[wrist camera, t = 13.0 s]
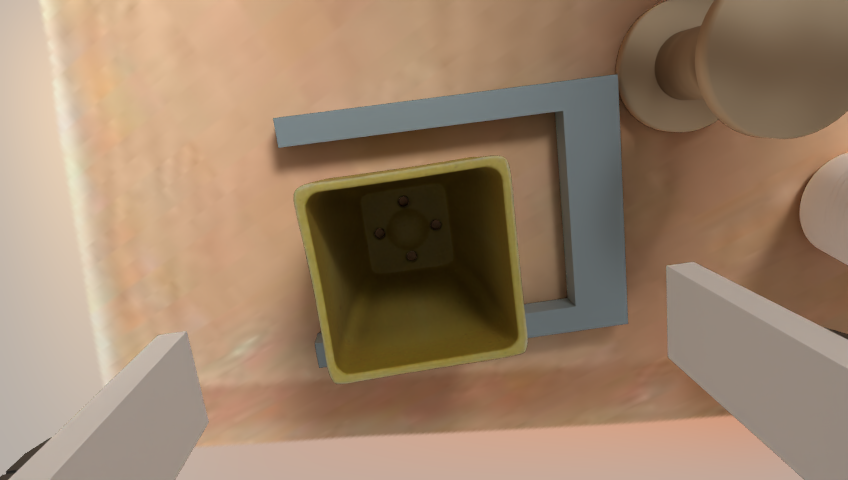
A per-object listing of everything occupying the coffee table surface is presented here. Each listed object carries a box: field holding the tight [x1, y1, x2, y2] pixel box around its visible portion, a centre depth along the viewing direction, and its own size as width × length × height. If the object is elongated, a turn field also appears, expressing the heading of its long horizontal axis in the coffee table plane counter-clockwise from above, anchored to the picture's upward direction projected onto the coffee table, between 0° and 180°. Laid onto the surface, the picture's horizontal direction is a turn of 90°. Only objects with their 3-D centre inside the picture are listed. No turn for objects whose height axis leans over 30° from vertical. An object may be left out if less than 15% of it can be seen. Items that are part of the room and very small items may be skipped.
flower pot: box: [294, 156, 528, 384], centre depth 27 cm, size 9×9×9 cm
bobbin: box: [616, 0, 848, 139], centre depth 26 cm, size 7×7×9 cm
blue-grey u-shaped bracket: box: [273, 74, 628, 368], centre depth 31 cm, size 18×14×2 cm
